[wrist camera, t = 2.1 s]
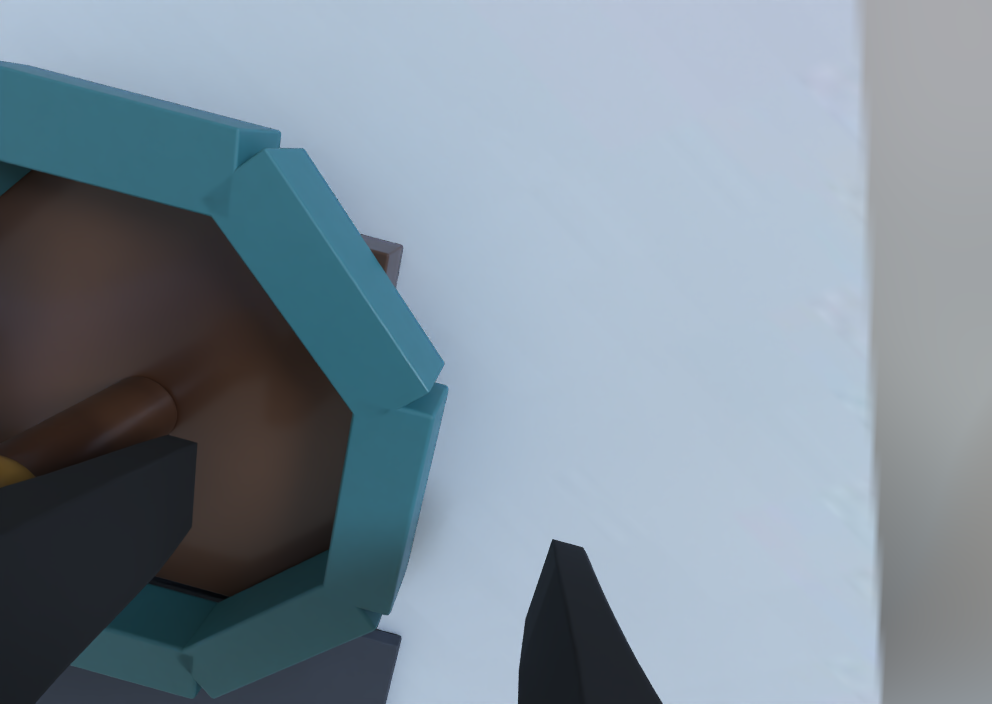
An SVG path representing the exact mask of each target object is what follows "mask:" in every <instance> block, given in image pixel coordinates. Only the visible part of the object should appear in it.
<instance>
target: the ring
mask: <svg viewBox="0 0 992 704" xmlns="http://www.w3.org/2000/svg"><path fill="white" fill-rule="evenodd" d="M280 140H281V132H280V131H278V130H275V129H271V128H267V127H264V126H260V125H256V124H252V123H248V122H244V121H241V120H237V119H233V118H229V117H225V116H221V115H218V114H214V113H210V112H206V111H202V110H198V109H194V108H191V107H187V106H183V105H179V104H175V103H171V102H168V101H164V100H160V99H156V98H152V97H148V96H145V95H141V94H137V93H133V92H129V91H125V90H122V89H118V88H114V87H110V86H106V85H102V84H99V83H95V82H91V81H87V80H83V79H79V78H75V77H72V76H68V75H64V74H60V73H56V72H52V71H49V70H45V69H41V68H37V67H33V66H29V65H23V64H17V63H11V62H4V61H0V196H1V195H2V194H4V193H5V192H6V191H7V190H8V189H10V188H11V187H12V186H13V185H14V184H15V183H17V182H18V181H19V180H20V179H21V178H23V177H24V176H25V175H26V174H27V173H29V172H30V171H31V170H36V171H40V172H43V173H47V174H51V175H55V176H59V177H62V178H66V179H70V180H74V181H78V182H81V183H85V184H89V185H93V186H97V187H100V188H104V189H108V190H112V191H116V192H119V193H123V194H127V195H131V196H135V197H138V198H142V199H146V200H150V201H154V202H157V203H161V204H165V205H169V206H172V207H176V208H180V209H184V210H188V211H191V212H195V213H199V214H203V215H207V216H210V217H212V218H213V220H214V221H215V222H216V224H217V225H218V227H219V228H220V229H221V231H222V232H223V234H224V235H225V236H226V238H227V239H228V241H229V242H230V243H231V245H232V246H233V247H234V249H235V250H236V252H237V253H238V254H239V256H240V257H241V259H242V260H243V261H244V263H245V264H246V266H247V267H248V268H249V270H250V271H251V273H252V274H253V275H254V277H255V278H256V279H257V281H258V282H259V284H260V285H261V286H262V288H263V289H264V291H265V292H266V293H267V295H268V296H269V298H270V299H271V300H272V302H273V303H274V305H275V306H276V307H277V309H278V310H279V312H280V313H281V314H282V316H283V317H284V318H285V320H286V321H287V323H288V324H289V325H290V327H291V328H292V330H293V331H294V332H295V334H296V335H297V337H298V338H299V339H300V341H301V342H302V344H303V345H304V346H305V348H306V349H307V350H308V352H309V353H310V355H311V356H312V357H313V359H314V360H315V362H316V363H317V364H318V366H319V367H320V369H321V370H322V371H323V373H324V374H325V376H326V377H327V378H328V380H329V381H330V382H331V384H332V385H333V387H334V388H335V389H336V391H337V392H338V394H339V395H340V396H341V398H342V399H343V401H344V402H345V403H346V405H347V406H348V408H349V409H350V410H351V412H352V419H351V424H350V430H349V436H348V442H347V448H346V454H345V459H344V465H343V471H342V477H341V483H340V488H339V494H338V500H337V506H336V512H335V518H334V523H333V529H332V535H331V541H330V547H329V549H328V550H326V551H324V552H322V553H320V554H318V555H316V556H314V557H312V558H310V559H308V560H306V561H304V562H302V563H299V564H297V565H295V566H293V567H291V568H289V569H287V570H285V571H283V572H281V573H279V574H277V575H275V576H273V577H270V578H268V579H266V580H264V581H262V582H260V583H258V584H256V585H254V586H252V587H250V588H248V589H246V590H244V591H241V592H239V593H237V594H235V595H233V596H231V597H229V598H227V599H225V600H223V601H221V602H219V603H218V602H215V601H211V600H207V599H204V598H200V597H197V596H193V595H189V594H186V593H182V592H178V591H175V590H171V589H167V588H164V587H160V586H157V585H153V584H149V583H148V584H147V585H146V586H145V587H144V588H143V589H142V590H141V591H140V592H139V593H138V594H137V596H136V597H135V598H134V599H133V600H132V601H131V602H130V603H129V604H128V605H127V606H126V607H125V608H124V609H123V610H122V611H121V612H120V613H119V614H118V615H117V617H116V618H115V619H114V620H113V621H112V622H111V623H110V624H109V625H108V626H107V627H106V628H105V629H104V630H103V631H102V632H101V633H100V634H99V635H98V636H97V637H96V638H95V639H94V640H93V641H92V643H91V644H90V645H89V646H88V647H87V648H86V649H85V650H84V651H83V652H82V653H81V654H80V655H79V656H78V657H77V658H76V659H75V660H74V661H73V662H72V663H71V664H70V665H71V666H74V667H78V668H82V669H85V670H89V671H92V672H96V673H100V674H103V675H107V676H110V677H114V678H118V679H121V680H125V681H128V682H132V683H136V684H139V685H143V686H146V687H150V688H154V689H157V690H161V691H164V692H168V693H172V694H175V695H179V696H182V697H186V698H190V699H194V698H195V697H196V695H197V694H198V692H199V691H200V689H201V688H203V689H204V690H205V691H206V693H207V694H208V695H209V696H210V697H211V698H213V699H215V698H217V697H220V696H222V695H224V694H227V693H229V692H231V691H234V690H236V689H238V688H241V687H243V686H245V685H248V684H250V683H252V682H255V681H257V680H259V679H262V678H264V677H267V676H269V675H271V674H274V673H276V672H278V671H281V670H283V669H285V668H288V667H290V666H292V665H295V664H297V663H299V662H302V661H304V660H306V659H309V658H311V657H314V656H316V655H318V654H321V653H323V652H325V651H328V650H330V649H332V648H335V647H337V646H339V645H342V644H344V643H346V642H349V641H351V640H353V639H356V638H358V637H361V636H363V635H365V634H368V633H370V632H372V631H374V630H375V629H376V628H377V627H378V624H379V621H380V619H381V616H382V614H383V615H389V613H390V612H391V610H392V608H393V605H394V602H395V599H396V597H397V594H398V591H399V588H400V586H401V583H402V580H403V577H404V575H405V572H406V569H407V565H408V561H409V557H410V553H411V548H412V544H413V540H414V535H415V531H416V527H417V523H418V518H419V514H420V510H421V506H422V501H423V497H424V493H425V488H426V484H427V480H428V476H429V471H430V467H431V463H432V458H433V454H434V450H435V446H436V441H437V437H438V433H439V428H440V424H441V420H442V416H443V411H444V407H445V403H446V399H447V394H448V387H447V386H446V385H442V384H439V383H435V381H436V379H437V377H438V375H439V374H440V372H441V370H442V368H443V366H444V361H443V360H442V358H441V357H440V355H439V354H438V352H437V351H436V349H435V348H434V346H433V345H432V343H431V342H430V340H429V338H428V337H427V335H426V334H425V332H424V331H423V329H422V328H421V326H420V325H419V323H418V322H417V320H416V319H415V317H414V316H413V314H412V313H411V311H410V310H409V308H408V306H407V305H406V303H405V302H404V300H403V299H402V297H401V296H400V294H399V293H398V291H397V290H396V288H395V287H394V285H393V284H392V282H391V281H390V279H389V277H388V276H387V274H386V273H385V271H384V270H383V268H382V267H381V265H380V264H379V262H378V261H377V259H376V258H375V256H374V255H373V253H372V252H371V250H370V248H369V247H368V245H367V244H366V242H365V241H364V239H363V238H362V236H361V235H360V233H359V232H358V230H357V229H356V227H355V226H354V224H353V223H352V221H351V220H350V218H349V216H348V215H347V213H346V212H345V210H344V209H343V207H342V206H341V204H340V203H339V201H338V200H337V198H336V197H335V195H334V194H333V192H332V191H331V189H330V187H329V186H328V184H327V183H326V181H325V180H324V178H323V177H322V175H321V174H320V172H319V171H318V169H317V168H316V166H315V165H314V163H313V162H312V160H311V159H310V157H309V155H308V154H307V152H306V151H305V150H304V149H303V148H280Z"/></svg>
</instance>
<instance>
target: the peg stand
mask: <svg viewBox="0 0 992 704" xmlns="http://www.w3.org/2000/svg"><path fill="white" fill-rule="evenodd" d="M360 235H361V236H362V238H363V239H364V241H365V242H366V244H367V245H368V247H369V248H370V250H371V252H372V253H373V255H374V256H375V258H376V259H377V261H378V262H379V264H380V265H381V267H382V268H383V270H384V271H385V273H386V274H387V276H388V277H389V279H390V281H391V282H392V284H393V285H394V287H395V288H396V284H397V279H398V273H399V268H400V263H401V257H402V252H403V246H402V245H400V244H396V243H392V242H388V241H385V240H381V239H377V238H373V237H369V236H366V235H362V234H360ZM351 419H352V412H351V410H350V409H349V408H348V406H347V405H346V403H345V402H344V401H343V399H342V398H341V396H340V395H339V394H338V392H337V391H336V389H335V388H334V387H333V385H332V384H331V382H330V381H329V380H328V378H327V377H326V376H325V374H324V373H323V371H322V370H321V369H320V367H319V366H318V364H317V363H316V362H315V360H314V359H313V357H312V356H311V355H310V353H309V352H308V350H307V349H306V348H305V346H304V345H303V344H302V342H301V341H300V339H299V338H298V337H297V335H296V334H295V332H294V331H293V330H292V328H291V327H290V325H289V324H288V323H287V321H286V320H285V318H284V317H283V316H282V314H281V313H280V312H279V310H278V309H277V307H276V306H275V305H274V303H273V302H272V300H271V299H270V298H269V296H268V295H267V293H266V292H265V291H264V289H263V288H262V286H261V285H260V284H259V282H258V281H257V279H256V278H255V277H254V275H253V274H252V273H251V271H250V270H249V268H248V267H247V266H246V264H245V263H244V261H243V260H242V259H241V257H240V256H239V254H238V253H237V252H236V250H235V249H234V247H233V246H232V245H231V243H230V242H229V241H228V239H227V238H226V236H225V235H224V234H223V232H222V231H221V229H220V228H219V227H218V225H217V224H216V222H215V221H214V220H213V218H212V217H210V216H207V215H203V214H199V213H195V212H191V211H188V210H184V209H180V208H176V207H172V206H169V205H165V204H161V203H157V202H154V201H150V200H146V199H142V198H138V197H135V196H131V195H127V194H123V193H119V192H116V191H112V190H108V189H104V188H100V187H97V186H93V185H89V184H85V183H81V182H78V181H74V180H70V179H66V178H62V177H59V176H55V175H51V174H47V173H43V172H40V171H36V170H31V171H30V172H29V173H27V174H26V175H25V176H24V177H23V178H21V179H20V180H19V181H18V182H17V183H15V184H14V185H13V186H12V187H11V188H10V189H8V190H7V191H6V192H5V193H4V194H2V195H1V196H0V488H1V487H4V486H8V485H11V484H15V483H18V482H21V481H25V480H28V479H31V478H35V477H38V476H41V475H45V474H48V473H51V472H54V471H57V470H60V469H63V468H66V467H69V466H72V465H75V464H78V463H81V462H84V461H87V460H90V459H93V458H96V457H99V456H102V455H105V454H108V453H111V452H114V451H117V450H120V449H123V448H126V447H129V446H132V445H135V444H138V443H141V442H144V441H147V440H151V439H154V438H158V437H161V436H165V435H171V436H175V437H178V438H182V439H186V440H189V441H193V442H197V443H198V444H197V459H196V474H195V489H194V504H193V519H192V528H191V529H190V530H189V532H188V533H187V535H186V536H185V537H184V539H183V540H182V542H181V543H180V544H179V546H178V547H177V549H176V550H175V551H174V553H173V554H172V555H171V557H170V558H169V559H168V560H167V562H166V563H165V564H164V566H163V567H162V568H161V570H160V571H159V572H158V573H157V574H156V575H155V576H156V577H160V578H163V579H167V580H171V581H174V582H178V583H182V584H185V585H189V586H193V587H196V588H200V589H203V590H207V591H211V592H214V593H218V594H222V595H225V596H229V597H231V596H233V595H235V594H237V593H239V592H241V591H244V590H246V589H248V588H250V587H252V586H254V585H256V584H258V583H260V582H262V581H264V580H266V579H268V578H270V577H273V576H275V575H277V574H279V573H281V572H283V571H285V570H287V569H289V568H291V567H293V566H295V565H297V564H299V563H302V562H304V561H306V560H308V559H310V558H312V557H314V556H316V555H318V554H320V553H322V552H324V551H326V550H328V549H329V547H330V541H331V535H332V529H333V523H334V518H335V512H336V506H337V500H338V494H339V488H340V483H341V477H342V471H343V465H344V459H345V454H346V448H347V442H348V436H349V430H350V424H351Z"/></svg>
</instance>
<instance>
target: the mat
mask: <svg viewBox="0 0 992 704" xmlns="http://www.w3.org/2000/svg"><path fill="white" fill-rule="evenodd" d="M149 584H153V585H157V586H160V587H164V588H167V589H171V590H175V591H178V592H182V593H186V594H189V595H193V596H197V597H200V598H204V599H207V600H211V601H215V602H218V603H219V602H221V601H223V600H225V599H227V598H229V596H225V595H222V594H218V593H214V592H211V591H207V590H203V589H200V588H196V587H193V586H189V585H185V584H182V583H178V582H174V581H171V580H167V579H163V578H160V577H156V576H154V577H153V579H152V580H151V581H150V582H149ZM400 642H401V636H398V635H394V634H391V633H387V632H383V631H380V630H376V629H375V630H374V631H372V632H370V633H368V634H365V635H363V636H361V637H358V638H356V639H353V640H351V641H349V642H346V643H344V644H342V645H339V646H337V647H335V648H332V649H330V650H328V651H325V652H323V653H321V654H318V655H316V656H314V657H311V658H309V659H306V660H304V661H302V662H299V663H297V664H295V665H292V666H290V667H288V668H285V669H283V670H281V671H278V672H276V673H274V674H271V675H269V676H267V677H264V678H262V679H259V680H257V681H255V682H252V683H250V684H248V685H245V686H243V687H241V688H238V689H236V690H234V691H231V692H229V693H227V694H224V695H222V696H220V697H217V698H215V699H213V698H211V697H210V696H209V695H208V694H207V693H206V691H205V690H204V689H203V688H201V689H200V691H199V692H198V694H197V695H196V697H195V698H194V699H190V698H186V697H182V696H179V695H175V694H172V693H168V692H164V691H161V690H157V689H154V688H150V687H146V686H143V685H139V684H136V683H132V682H128V681H125V680H121V679H118V678H114V677H110V676H107V675H103V674H100V673H96V672H92V671H89V670H85V669H82V668H78V667H74V666H71V665H69V666H68V667H67V669H66V670H65V671H64V672H63V673H62V674H61V675H60V676H59V677H58V678H57V679H56V681H55V682H54V683H53V684H52V685H51V686H50V687H49V688H48V689H47V691H46V692H45V693H44V694H43V695H42V696H41V697H40V699H39V700H38V701H37V702H36V703H35V704H386V700H387V696H388V692H389V688H390V684H391V679H392V675H393V671H394V667H395V663H396V659H397V655H398V651H399V647H400Z"/></svg>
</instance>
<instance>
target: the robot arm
mask: <svg viewBox="0 0 992 704" xmlns="http://www.w3.org/2000/svg"><path fill="white" fill-rule="evenodd" d="M197 444H198V443H197V442H193V441H189V440H186V439H182V438H178V437H175V436H171V435H165V436H161V437H158V438H154V439H151V440H147V441H144V442H141V443H138V444H135V445H132V446H129V447H126V448H123V449H120V450H117V451H114V452H111V453H108V454H105V455H102V456H99V457H96V458H93V459H90V460H87V461H84V462H81V463H78V464H75V465H72V466H69V467H66V468H63V469H60V470H57V471H54V472H51V473H48V474H45V475H41V476H38V477H35V478H31V479H28V480H25V481H21V482H18V483H15V484H11V485H8V486H4V487H1V488H0V704H35V703H36V702H37V701H38V700H39V699H40V697H41V696H42V695H43V694H44V693H45V692H46V691H47V689H48V688H49V687H50V686H51V685H52V684H53V683H54V682H55V681H56V679H57V678H58V677H59V676H60V675H61V674H62V673H63V672H64V671H65V670H66V669H67V667H68V666H69V665H70V664H71V663H72V662H73V661H74V660H75V659H76V658H77V657H78V656H79V655H80V654H81V653H82V652H83V651H84V650H85V649H86V648H87V647H88V646H89V645H90V644H91V643H92V641H93V640H94V639H95V638H96V637H97V636H98V635H99V634H100V633H101V632H102V631H103V630H104V629H105V628H106V627H107V626H108V625H109V624H110V623H111V622H112V621H113V620H114V619H115V618H116V617H117V615H118V614H119V613H120V612H121V611H122V610H123V609H124V608H125V607H126V606H127V605H128V604H129V603H130V602H131V601H132V600H133V599H134V598H135V597H136V596H137V594H138V593H139V592H140V591H141V590H142V589H143V588H144V587H145V586H146V585H147V584H148V583H149V582H150V581H151V580H152V579H153V577H154V576H155V575H156V574H157V573H158V572H159V571H160V570H161V568H162V567H163V566H164V564H165V563H166V562H167V560H168V559H169V558H170V557H171V555H172V554H173V553H174V551H175V550H176V549H177V547H178V546H179V544H180V543H181V542H182V540H183V539H184V537H185V536H186V535H187V533H188V532H189V530H190V529H191V528H192V519H193V504H194V489H195V474H196V459H197ZM518 704H663V703H662V702H661V700H660V699H659V697H658V695H657V694H656V692H655V690H654V689H653V687H652V685H651V684H650V682H649V680H648V678H647V677H646V675H645V673H644V671H643V670H642V668H641V666H640V664H639V663H638V661H637V659H636V657H635V655H634V653H633V652H632V650H631V648H630V646H629V644H628V642H627V640H626V638H625V636H624V634H623V632H622V630H621V628H620V626H619V624H618V622H617V620H616V618H615V616H614V614H613V612H612V610H611V608H610V606H609V604H608V602H607V599H606V597H605V595H604V593H603V591H602V588H601V586H600V584H599V582H598V579H597V577H596V575H595V572H594V570H593V568H592V565H591V563H590V561H589V558H588V556H587V554H586V552H585V550H584V548H583V547H579V546H576V545H572V544H568V543H565V542H561V541H557V540H554V539H552V542H551V545H550V548H549V551H548V554H547V557H546V560H545V563H544V566H543V569H542V572H541V575H540V578H539V581H538V584H537V587H536V590H535V593H534V596H533V599H532V601H531V604H530V607H529V610H528V613H527V616H526V620H525V627H524V635H523V642H522V650H521V658H520V666H519V686H518Z"/></svg>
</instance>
